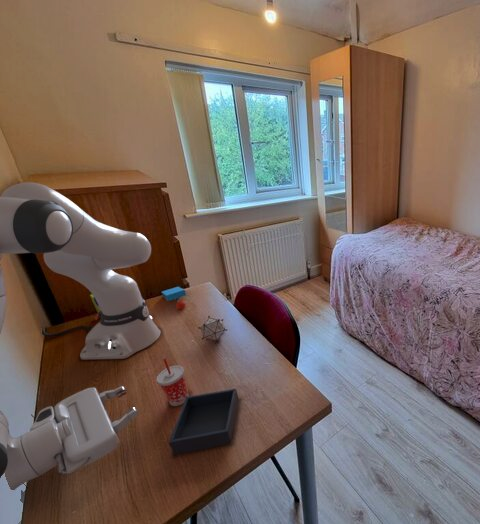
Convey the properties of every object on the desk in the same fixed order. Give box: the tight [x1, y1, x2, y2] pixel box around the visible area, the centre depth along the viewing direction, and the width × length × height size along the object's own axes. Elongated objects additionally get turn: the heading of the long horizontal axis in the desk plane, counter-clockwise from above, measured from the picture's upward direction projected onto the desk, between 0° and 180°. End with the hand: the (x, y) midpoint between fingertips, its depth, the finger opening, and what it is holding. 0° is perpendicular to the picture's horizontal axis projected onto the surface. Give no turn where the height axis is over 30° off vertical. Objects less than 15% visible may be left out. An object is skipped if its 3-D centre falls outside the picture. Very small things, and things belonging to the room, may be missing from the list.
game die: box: [197, 315, 228, 343], centre depth 99 cm, size 9×8×10 cm
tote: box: [168, 388, 240, 456], centre depth 70 cm, size 12×12×4 cm
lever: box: [161, 286, 187, 310], centre depth 123 cm, size 7×7×18 cm
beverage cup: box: [156, 358, 190, 407], centre depth 75 cm, size 6×6×14 cm
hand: (130, 399), depth 68 cm, fingers open, 8 cm apart
